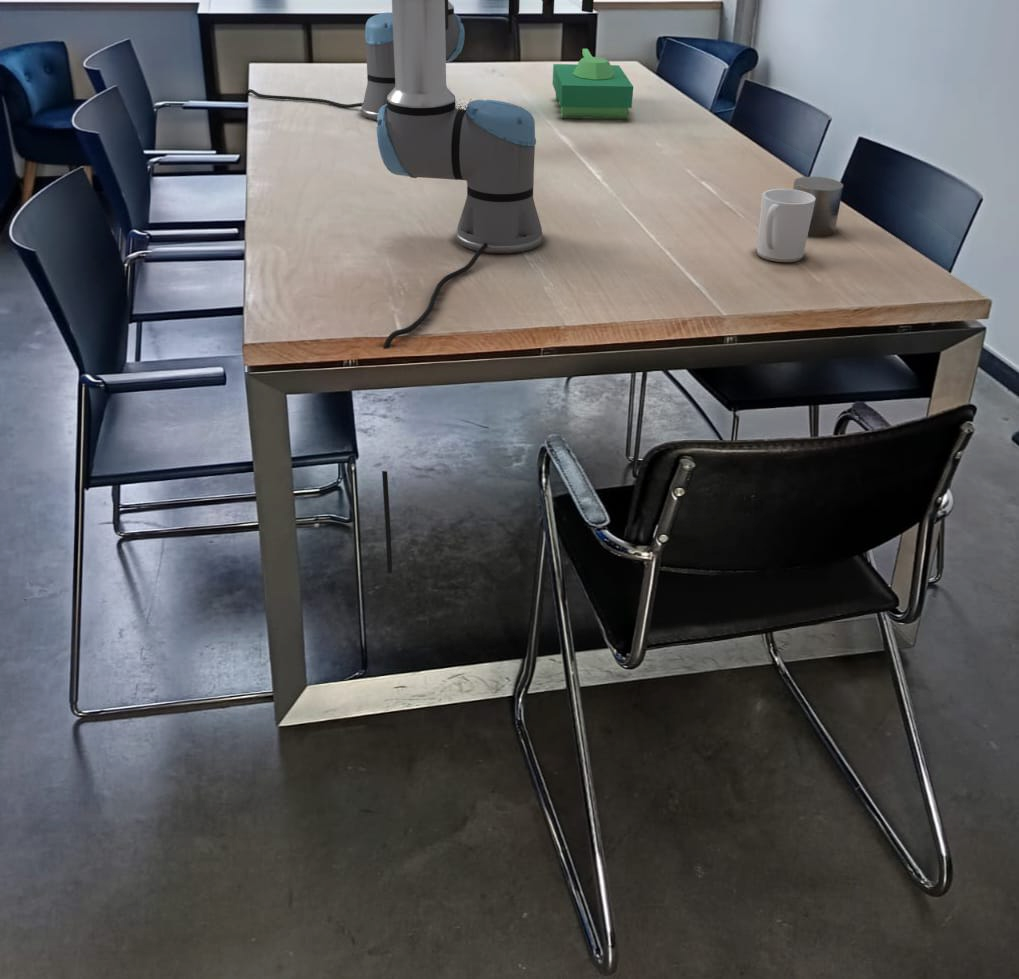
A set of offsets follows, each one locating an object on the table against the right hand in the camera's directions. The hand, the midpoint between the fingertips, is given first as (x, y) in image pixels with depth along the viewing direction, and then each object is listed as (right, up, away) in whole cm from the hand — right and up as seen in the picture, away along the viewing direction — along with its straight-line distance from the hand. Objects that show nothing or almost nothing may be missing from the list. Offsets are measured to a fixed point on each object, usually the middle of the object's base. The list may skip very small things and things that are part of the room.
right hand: (477, 31), depth 223 cm
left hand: (+19, +11, +19) cm, 29 cm away
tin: (+63, -45, -19) cm, 80 cm away
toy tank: (+27, +8, +66) cm, 72 cm away
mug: (+53, -53, -32) cm, 82 cm away
